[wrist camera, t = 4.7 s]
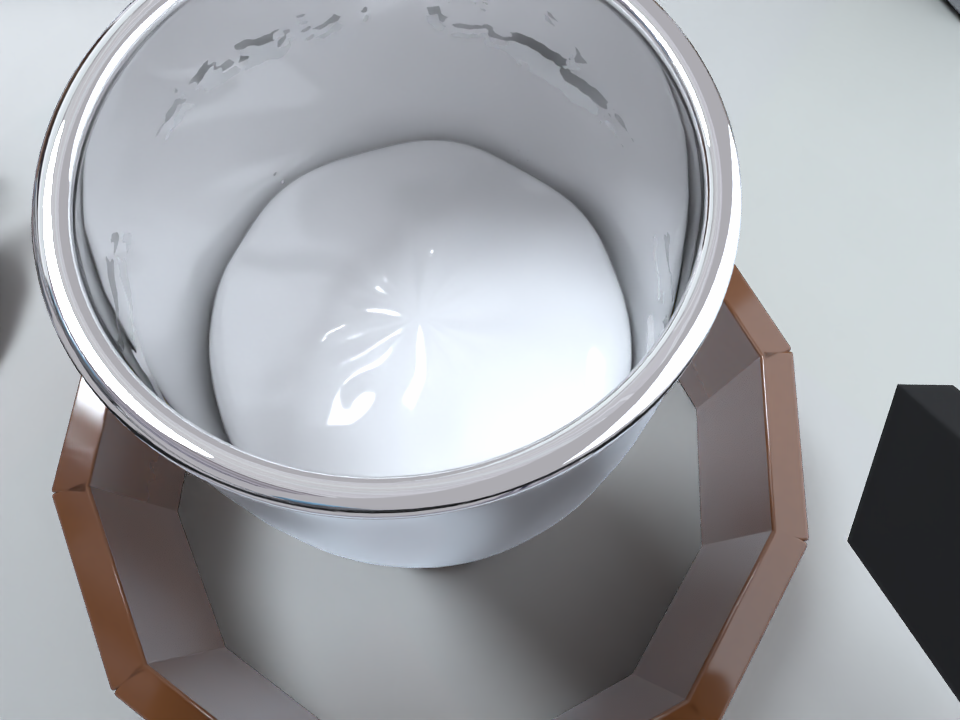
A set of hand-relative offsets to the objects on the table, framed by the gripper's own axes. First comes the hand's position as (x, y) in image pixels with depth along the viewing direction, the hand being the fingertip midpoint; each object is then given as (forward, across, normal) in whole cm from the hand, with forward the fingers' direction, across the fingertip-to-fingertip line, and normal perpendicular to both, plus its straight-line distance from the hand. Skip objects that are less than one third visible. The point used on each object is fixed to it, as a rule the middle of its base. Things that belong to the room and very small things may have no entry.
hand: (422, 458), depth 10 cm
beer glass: (+9, 0, -6) cm, 11 cm away
